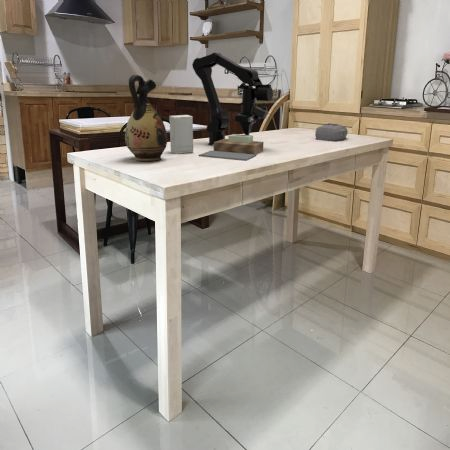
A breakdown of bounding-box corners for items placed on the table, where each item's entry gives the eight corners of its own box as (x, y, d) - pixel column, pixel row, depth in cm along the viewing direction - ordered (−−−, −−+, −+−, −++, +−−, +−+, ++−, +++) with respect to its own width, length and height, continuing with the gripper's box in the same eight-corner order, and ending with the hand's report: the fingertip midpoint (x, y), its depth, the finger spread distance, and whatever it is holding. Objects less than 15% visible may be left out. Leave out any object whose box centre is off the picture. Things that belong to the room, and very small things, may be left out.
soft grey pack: (337, 142, 214) (351, 138, 229) (339, 125, 211) (353, 123, 226) (310, 139, 222) (325, 136, 237) (311, 123, 219) (327, 120, 234)
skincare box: (188, 150, 179) (188, 114, 174) (193, 153, 174) (193, 115, 169) (169, 151, 175) (168, 114, 170) (174, 154, 170) (173, 116, 165)
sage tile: (228, 141, 179) (228, 135, 178) (233, 139, 184) (233, 134, 183) (248, 143, 176) (248, 137, 175) (252, 141, 181) (253, 135, 180)
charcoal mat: (198, 156, 167) (198, 154, 167) (211, 151, 178) (211, 150, 177) (246, 160, 160) (246, 159, 160) (256, 155, 171) (256, 154, 170)
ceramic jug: (144, 154, 168) (141, 74, 158) (176, 158, 161) (174, 75, 151) (114, 160, 154) (108, 73, 144) (146, 165, 147) (143, 74, 137)
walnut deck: (213, 151, 178) (213, 142, 176) (224, 147, 188) (224, 138, 187) (254, 155, 171) (254, 145, 170) (263, 151, 182) (263, 141, 180)
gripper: (259, 102, 171) (257, 140, 176) (272, 100, 187) (270, 135, 192) (234, 100, 175) (233, 138, 180) (249, 99, 191) (247, 134, 196)
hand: (247, 136), depth 187 cm, fingers closed
